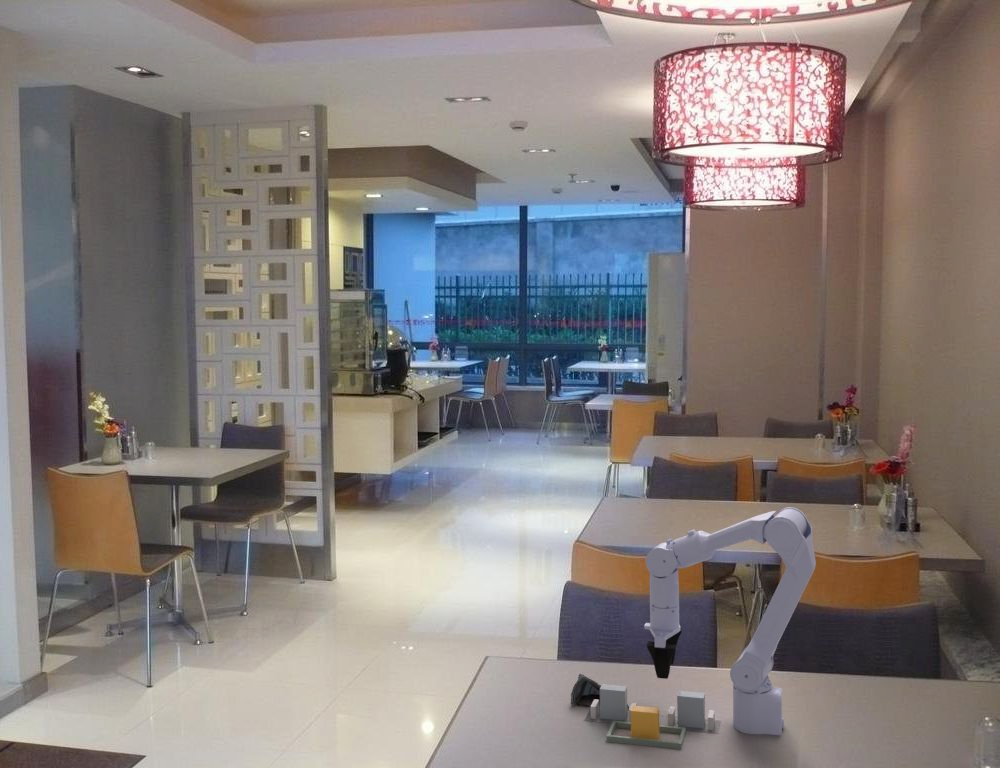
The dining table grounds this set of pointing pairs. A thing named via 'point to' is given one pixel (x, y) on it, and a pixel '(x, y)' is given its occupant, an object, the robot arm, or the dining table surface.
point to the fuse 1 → (613, 702)
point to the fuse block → (669, 720)
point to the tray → (643, 741)
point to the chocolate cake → (584, 690)
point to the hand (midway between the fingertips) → (665, 670)
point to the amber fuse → (645, 722)
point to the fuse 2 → (691, 709)
